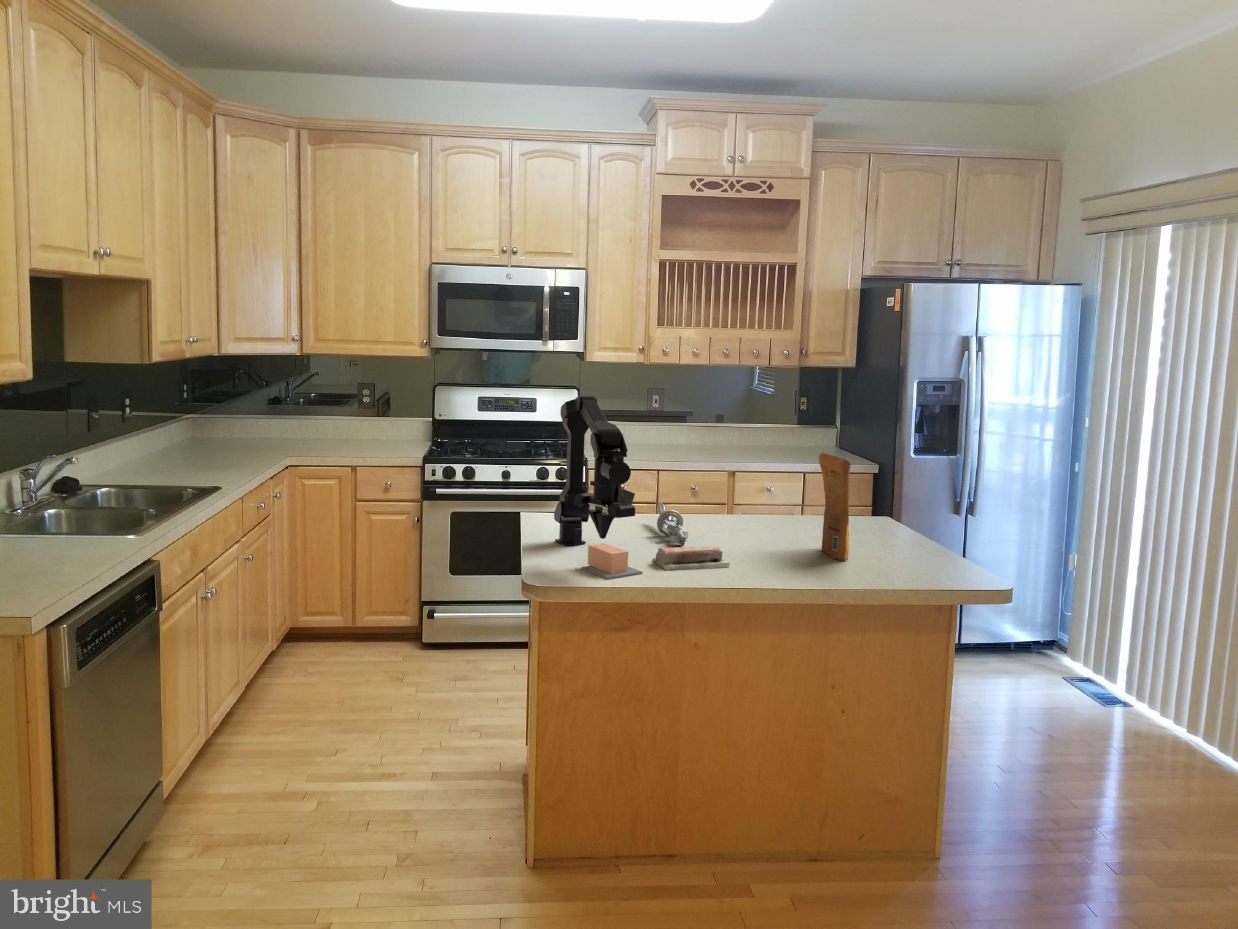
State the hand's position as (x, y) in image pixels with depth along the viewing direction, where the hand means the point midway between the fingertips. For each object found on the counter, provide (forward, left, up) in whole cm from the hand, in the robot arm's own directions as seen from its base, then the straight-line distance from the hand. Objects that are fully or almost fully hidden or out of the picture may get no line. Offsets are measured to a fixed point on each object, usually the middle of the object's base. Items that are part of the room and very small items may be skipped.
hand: (602, 538), depth 252 cm
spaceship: (-19, +39, -8) cm, 44 cm away
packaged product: (+8, +23, -8) cm, 26 cm away
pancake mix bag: (+20, +66, -8) cm, 69 cm away
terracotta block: (-3, 0, -5) cm, 5 cm away
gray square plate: (+4, 0, -8) cm, 9 cm away
